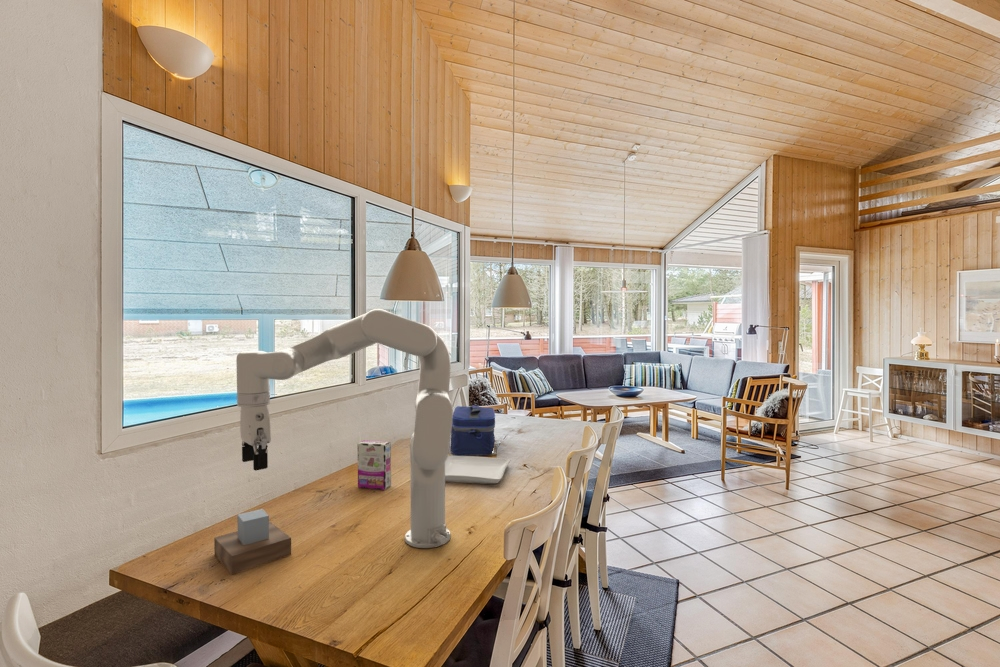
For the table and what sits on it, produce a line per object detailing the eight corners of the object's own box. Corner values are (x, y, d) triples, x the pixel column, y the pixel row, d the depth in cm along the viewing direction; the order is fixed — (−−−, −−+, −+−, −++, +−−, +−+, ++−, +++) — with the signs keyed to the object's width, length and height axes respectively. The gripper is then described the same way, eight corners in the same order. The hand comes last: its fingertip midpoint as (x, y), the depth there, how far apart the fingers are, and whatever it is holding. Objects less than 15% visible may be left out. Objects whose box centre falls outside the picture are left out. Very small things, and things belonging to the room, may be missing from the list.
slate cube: (269, 538, 126) (268, 515, 126) (243, 545, 122) (243, 521, 122) (262, 531, 130) (262, 508, 130) (237, 537, 126) (237, 514, 126)
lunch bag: (497, 457, 216) (497, 411, 216) (449, 458, 215) (449, 412, 214) (493, 440, 247) (493, 400, 246) (451, 440, 246) (451, 400, 245)
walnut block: (291, 556, 127) (291, 537, 126) (232, 576, 117) (232, 556, 116) (270, 539, 136) (270, 521, 136) (214, 556, 126) (214, 537, 126)
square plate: (501, 488, 178) (501, 478, 177) (428, 484, 182) (428, 474, 182) (511, 466, 204) (511, 457, 204) (447, 463, 209) (447, 454, 208)
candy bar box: (391, 485, 179) (391, 441, 178) (385, 490, 174) (385, 444, 174) (364, 483, 182) (363, 439, 181) (357, 487, 177) (356, 442, 176)
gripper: (280, 401, 122) (281, 469, 122) (258, 393, 134) (259, 455, 135) (247, 405, 117) (248, 476, 117) (228, 396, 129) (229, 460, 130)
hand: (254, 464), depth 126 cm, fingers open, 9 cm apart
